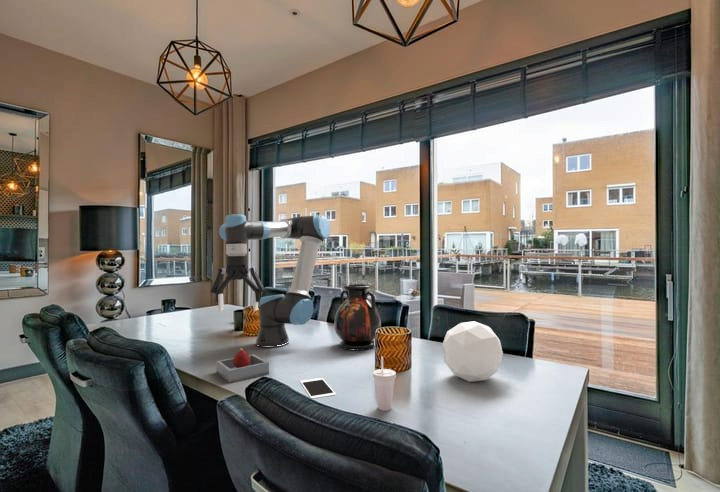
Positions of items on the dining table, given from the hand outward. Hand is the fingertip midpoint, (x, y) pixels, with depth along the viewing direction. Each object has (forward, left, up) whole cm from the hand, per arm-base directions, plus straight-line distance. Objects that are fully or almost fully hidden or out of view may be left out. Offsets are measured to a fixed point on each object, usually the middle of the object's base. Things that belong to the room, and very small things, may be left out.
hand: (238, 310), depth 138 cm
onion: (-1, +8, -21) cm, 22 cm away
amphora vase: (-51, -14, -22) cm, 57 cm away
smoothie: (-39, +52, -21) cm, 69 cm away
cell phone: (-24, +31, -22) cm, 45 cm away
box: (-1, +8, -21) cm, 23 cm away
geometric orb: (-75, +40, -21) cm, 88 cm away
